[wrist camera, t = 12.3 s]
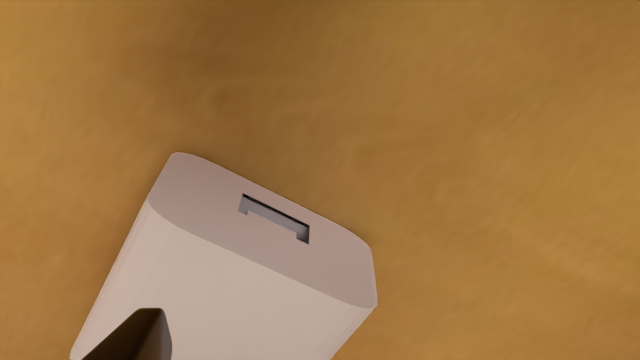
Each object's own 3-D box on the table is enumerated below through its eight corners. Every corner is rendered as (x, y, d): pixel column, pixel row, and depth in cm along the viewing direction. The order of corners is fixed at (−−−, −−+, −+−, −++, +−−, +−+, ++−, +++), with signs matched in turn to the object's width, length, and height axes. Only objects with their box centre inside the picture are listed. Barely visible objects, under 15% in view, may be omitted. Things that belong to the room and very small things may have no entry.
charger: (66, 364, 27) (177, 143, 21) (226, 422, 29) (371, 239, 23) (20, 450, 23) (140, 208, 17) (210, 509, 25) (380, 317, 19)
